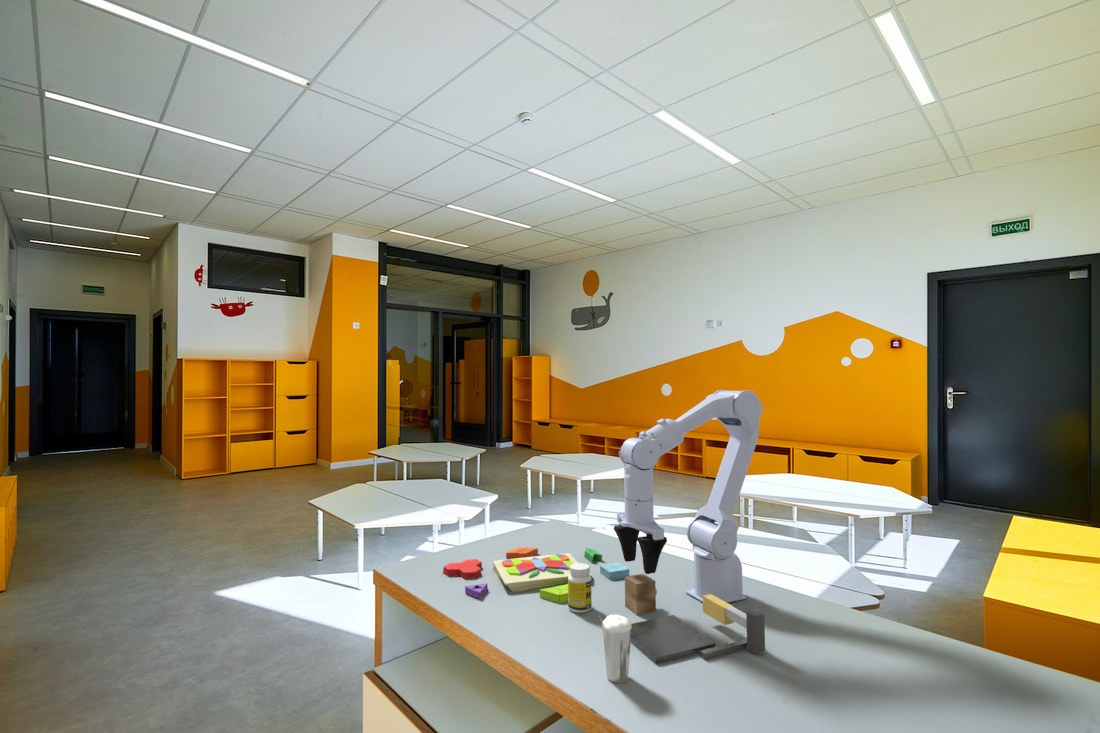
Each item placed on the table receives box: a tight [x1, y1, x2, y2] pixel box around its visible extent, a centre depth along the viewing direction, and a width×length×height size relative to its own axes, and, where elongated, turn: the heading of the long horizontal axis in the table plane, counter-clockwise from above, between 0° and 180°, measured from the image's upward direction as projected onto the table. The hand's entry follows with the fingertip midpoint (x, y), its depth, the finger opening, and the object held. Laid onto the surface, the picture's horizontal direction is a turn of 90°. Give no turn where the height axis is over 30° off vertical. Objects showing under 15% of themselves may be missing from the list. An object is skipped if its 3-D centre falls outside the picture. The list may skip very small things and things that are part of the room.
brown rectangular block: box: [624, 573, 658, 616], centre depth 108 cm, size 6×4×6 cm
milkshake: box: [598, 614, 633, 684], centre depth 83 cm, size 4×5×10 cm
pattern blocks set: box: [442, 546, 630, 604], centre depth 127 cm, size 38×34×3 cm
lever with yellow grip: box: [702, 594, 766, 655], centre depth 95 cm, size 2×14×6 cm, turn 23°
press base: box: [630, 614, 748, 665], centre depth 95 cm, size 20×14×1 cm
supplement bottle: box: [567, 562, 593, 614], centre depth 108 cm, size 5×5×8 cm
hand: (639, 566), depth 108 cm, fingers open, 7 cm apart
